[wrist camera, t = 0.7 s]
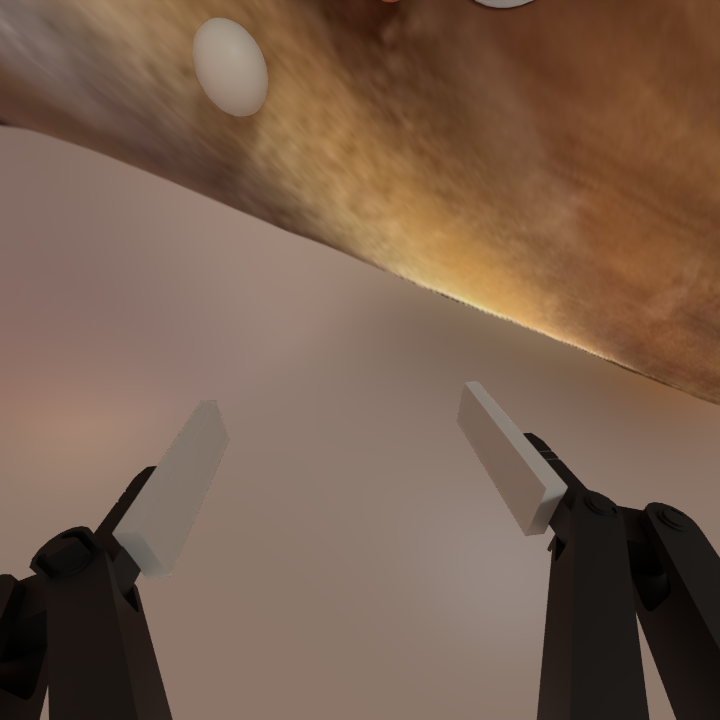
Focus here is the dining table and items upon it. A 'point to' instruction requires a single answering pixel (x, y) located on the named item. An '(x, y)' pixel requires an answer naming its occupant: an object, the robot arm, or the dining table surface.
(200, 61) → the ivory ball
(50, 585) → the robot arm
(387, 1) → the coral ball
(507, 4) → the oval plate
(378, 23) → the dining table surface
